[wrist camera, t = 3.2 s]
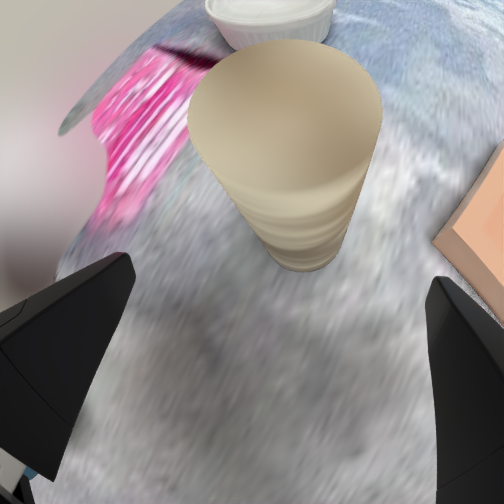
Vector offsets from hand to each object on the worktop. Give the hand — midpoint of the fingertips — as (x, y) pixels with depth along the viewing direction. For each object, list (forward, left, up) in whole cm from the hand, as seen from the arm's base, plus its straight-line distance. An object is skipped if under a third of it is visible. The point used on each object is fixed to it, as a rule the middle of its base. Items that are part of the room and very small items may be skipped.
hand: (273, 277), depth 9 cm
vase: (+3, +3, -11) cm, 12 cm away
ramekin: (+16, +18, -11) cm, 26 cm away
